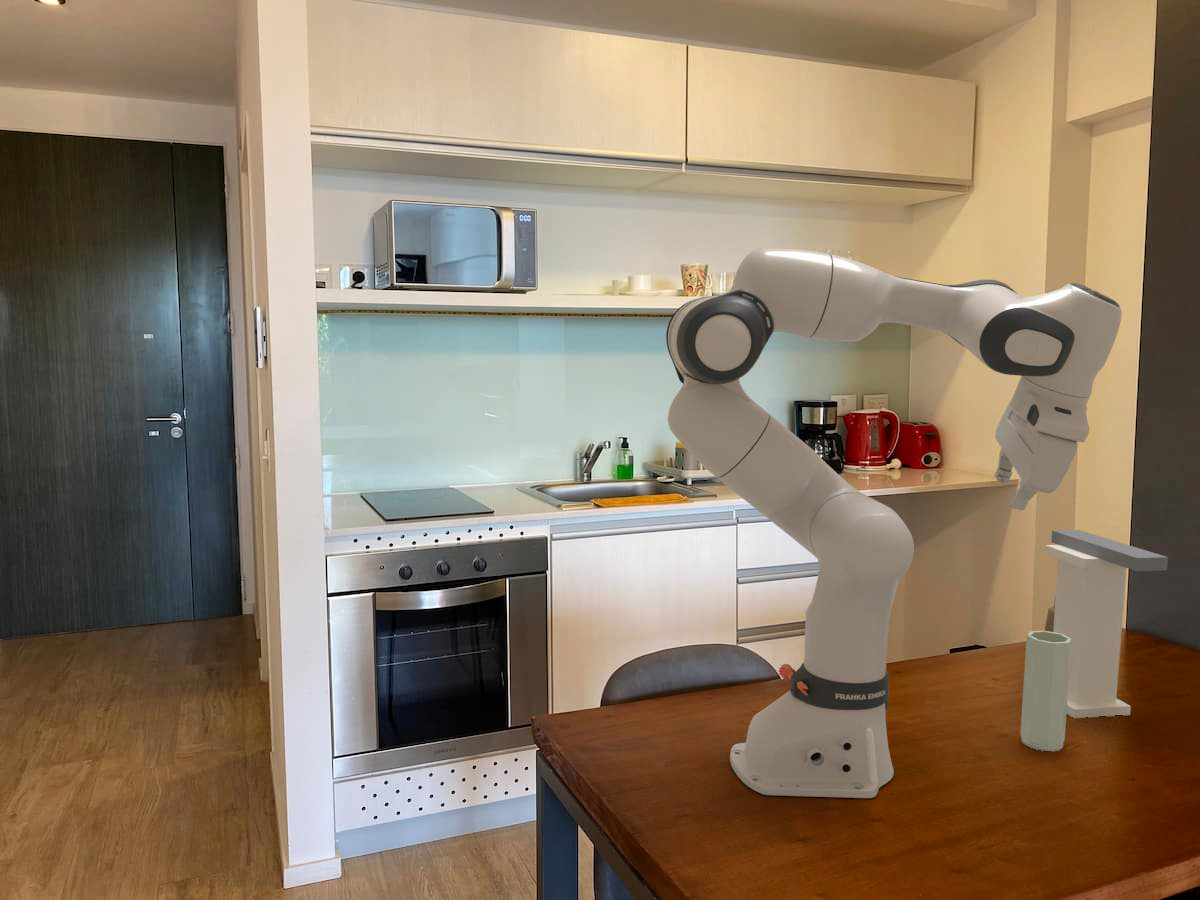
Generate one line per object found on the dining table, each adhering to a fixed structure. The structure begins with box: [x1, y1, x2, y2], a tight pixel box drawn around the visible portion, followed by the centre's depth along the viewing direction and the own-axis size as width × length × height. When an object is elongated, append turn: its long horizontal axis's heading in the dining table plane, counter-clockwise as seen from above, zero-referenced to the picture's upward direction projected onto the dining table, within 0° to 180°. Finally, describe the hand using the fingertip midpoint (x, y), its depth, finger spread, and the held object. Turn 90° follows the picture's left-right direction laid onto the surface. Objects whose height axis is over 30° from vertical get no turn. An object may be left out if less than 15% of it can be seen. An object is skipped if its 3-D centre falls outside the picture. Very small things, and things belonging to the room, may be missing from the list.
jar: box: [1019, 630, 1072, 753], centre depth 136 cm, size 6×6×16 cm
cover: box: [1050, 529, 1169, 572], centre depth 146 cm, size 5×20×2 cm, turn 9°
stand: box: [1044, 544, 1132, 719], centre depth 150 cm, size 10×10×26 cm
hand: (1008, 493), depth 130 cm, fingers open, 8 cm apart
